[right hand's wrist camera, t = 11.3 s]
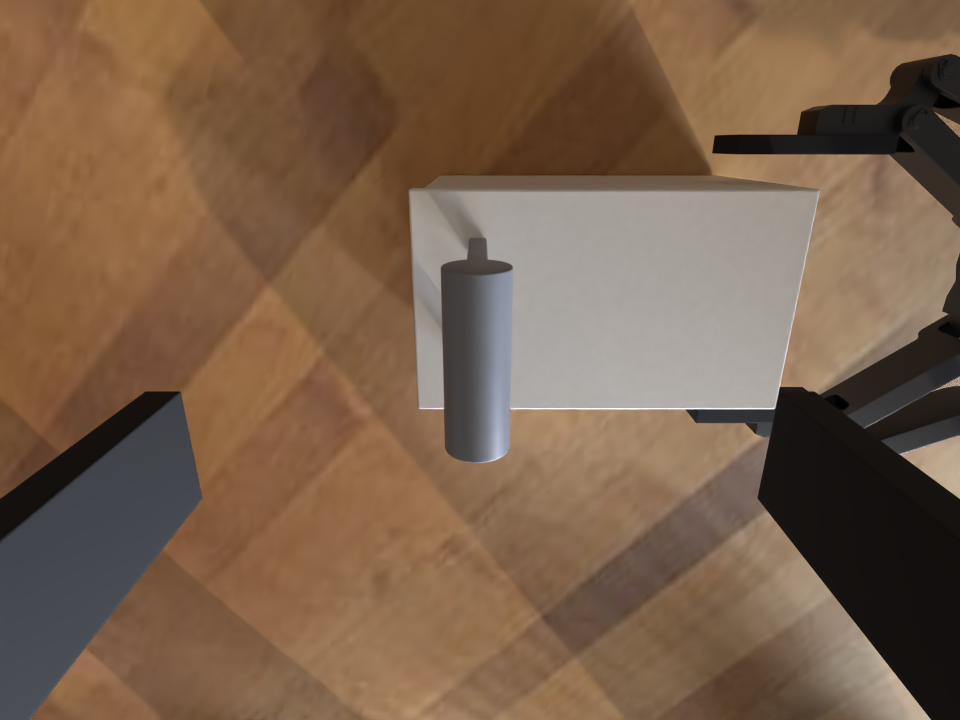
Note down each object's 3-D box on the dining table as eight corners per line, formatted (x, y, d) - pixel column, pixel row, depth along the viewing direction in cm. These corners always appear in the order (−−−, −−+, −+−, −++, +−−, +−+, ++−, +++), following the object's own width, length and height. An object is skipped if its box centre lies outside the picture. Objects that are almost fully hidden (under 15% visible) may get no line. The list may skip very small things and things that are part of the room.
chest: (443, 335, 35) (430, 401, 26) (439, 175, 31) (423, 187, 23) (693, 335, 35) (766, 401, 26) (716, 175, 31) (808, 187, 23)
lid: (419, 401, 26) (393, 509, 18) (410, 187, 23) (374, 209, 15) (766, 401, 26) (886, 509, 18) (809, 187, 23) (977, 209, 15)
